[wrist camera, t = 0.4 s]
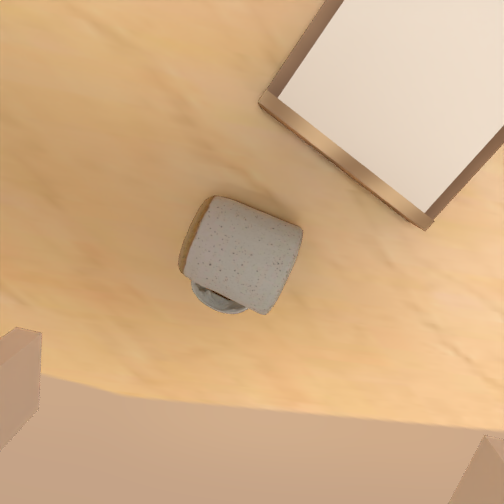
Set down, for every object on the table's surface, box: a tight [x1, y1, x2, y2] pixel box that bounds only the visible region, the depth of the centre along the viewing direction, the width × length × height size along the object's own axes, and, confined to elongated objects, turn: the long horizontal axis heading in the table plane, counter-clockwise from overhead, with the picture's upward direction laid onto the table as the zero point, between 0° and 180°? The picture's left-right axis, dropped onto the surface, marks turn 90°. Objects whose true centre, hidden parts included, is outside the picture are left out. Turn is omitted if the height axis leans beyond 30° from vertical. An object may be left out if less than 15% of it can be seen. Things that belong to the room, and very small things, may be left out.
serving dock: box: [258, 0, 504, 231], centre depth 24 cm, size 16×19×5 cm
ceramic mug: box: [178, 196, 303, 315], centre depth 29 cm, size 11×8×8 cm
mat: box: [278, 0, 504, 213], centre depth 24 cm, size 14×15×1 cm
